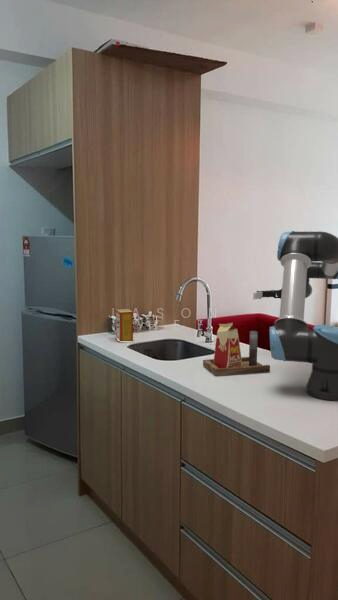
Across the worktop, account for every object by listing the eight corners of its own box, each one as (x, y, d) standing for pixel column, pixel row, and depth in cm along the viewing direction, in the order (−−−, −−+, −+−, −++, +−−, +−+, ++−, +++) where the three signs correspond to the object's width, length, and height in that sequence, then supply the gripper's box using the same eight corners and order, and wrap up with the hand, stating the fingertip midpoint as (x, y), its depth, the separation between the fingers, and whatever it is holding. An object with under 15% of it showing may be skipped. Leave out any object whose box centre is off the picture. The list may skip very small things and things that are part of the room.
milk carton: (243, 370, 195) (244, 322, 192) (226, 374, 189) (227, 324, 186) (227, 365, 202) (228, 318, 199) (210, 369, 196) (211, 321, 194)
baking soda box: (133, 342, 245) (132, 311, 243) (120, 343, 243) (120, 311, 241) (128, 338, 254) (127, 308, 252) (116, 339, 252) (115, 308, 250)
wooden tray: (269, 371, 193) (271, 335, 191) (215, 375, 187) (216, 337, 185) (254, 362, 207) (255, 327, 205) (203, 365, 201) (203, 330, 199)
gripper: (316, 303, 213) (295, 309, 197) (266, 298, 229) (242, 303, 213) (317, 286, 212) (295, 291, 196) (266, 282, 228) (242, 286, 212)
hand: (268, 297), depth 204 cm, fingers open, 13 cm apart
